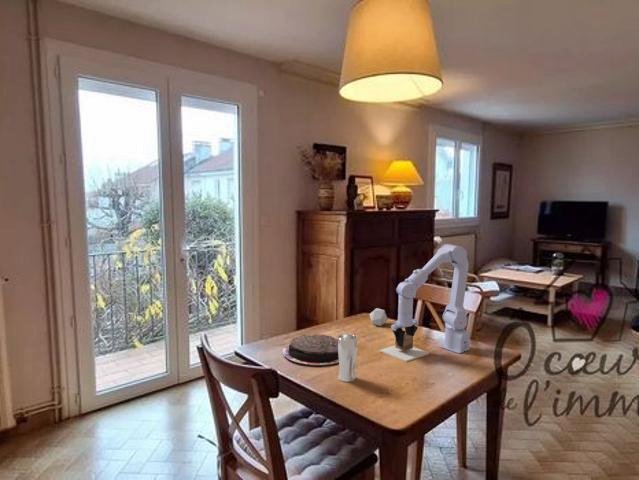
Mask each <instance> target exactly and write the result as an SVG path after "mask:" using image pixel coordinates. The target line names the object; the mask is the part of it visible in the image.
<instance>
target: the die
mask: <svg viewBox="0 0 639 480" xmlns="http://www.w3.org/2000/svg"><path fill="white" fill-rule="evenodd" d="M369 318H370V321H371V323H372V325H375V326H378V327H381V326H383V325H384V324H385V323H386V322H387V321H388V319H389V318H388V316H387V314H386V311H385V309H381V308H379V307H376V308H374V310H373V311H371V312H370V313H369Z"/></svg>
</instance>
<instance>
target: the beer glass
mask: <svg viewBox="0 0 639 480" xmlns="http://www.w3.org/2000/svg"><path fill="white" fill-rule="evenodd" d="M357 338H358V337H357V335H355V334H352V333H341V334H339V335H338V336H337V340H338V343H337V353H338V360H339V364H338V366H339V367H338V368H339V370H338V374H337V378H338V380H339V381H341V382H344V383H350V382H354V381H355V380H356V372H355V367H356V366H355V365H356V360H357V356H358V355H357V354H358V339H357Z"/></svg>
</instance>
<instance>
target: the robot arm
mask: <svg viewBox="0 0 639 480" xmlns="http://www.w3.org/2000/svg"><path fill="white" fill-rule="evenodd" d="M467 255H468V252H467V251H466V249H465V248H464V247H462V246H460V245H455V244H450V243H445V244H443V245H442V246H441V247H440V248H438V249H437V251H436V253H435V254H434V256H433V257H432V258H431V259H430V260H428V262H427V263H426V264H425V265H424V266H423V267H422V268H417V269H414V270H413V271H412V274H410V276H408V278H405V279H404V281H402V282H400V283H398V285H397V287H396V288H395V290H396V294H398V306H397V307H398V308H397V313H398V314H397V320H396V322H394V323H393V324H391V325H390V330H391V331H392V332H393V335H394V337H395V339H396V341H397V345H398V346H400V347H402V345H403V338H404V334H407V335H410V336H413V337H414V336H415V334H416V332H417V330H418V326H417V325H419V319H417V318H413V312H414V311H413V310H414V308H413V307H414V297H416V294H417V291H418V289H420V287H421V286H422V285H423V284H424V283H425V282H427V281H428V279H429V275H431V273H432V272H434V271H435V269H437V268H438V267H440V266H441V265H442V264H444V263H450V264H451V265H452V266H453V267H454V269H453V276H452V283H451V290H450V291H451V292H450V298H449V304H447V305H446V306H445V309H444V312H443V314H442V321H443V322H444V326H445V330H444V343H443V344H442V345H440V346H439V347H440V348H442V349H445V350H447V351H451V352H453V353H456V354H462V353H465V352H466V351H467V352H468V351H469V350H471V348H470V337H471V335H470V332H469V331H467V330H466V329H465V328H466V327H467V326H468V317H467V311H466V308H465V307H464V302H465V295H466V294H465V293H466V288H467V281H468V273H469V266H470V265H469V261H468V256H467ZM403 329H404V330H403ZM464 351H465V352H464Z"/></svg>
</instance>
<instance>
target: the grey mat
mask: <svg viewBox="0 0 639 480" xmlns="http://www.w3.org/2000/svg"><path fill="white" fill-rule="evenodd" d="M379 352H380V353H383V354H386V355H388V356H389V357H393V358H395V359H398V360H400V361H402V362H404V363H407V362H410V361H412V360H416V359H419V358H422V357H424V356H427V355H429V354H430V353H429V351H425V350H423V349H420V348H418V347H416V346H413V348H412V349H409V350H406V351H403V350H401V349H398V348H395V344H394V345H391V346H388V347H385V348H382V349H379Z"/></svg>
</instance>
